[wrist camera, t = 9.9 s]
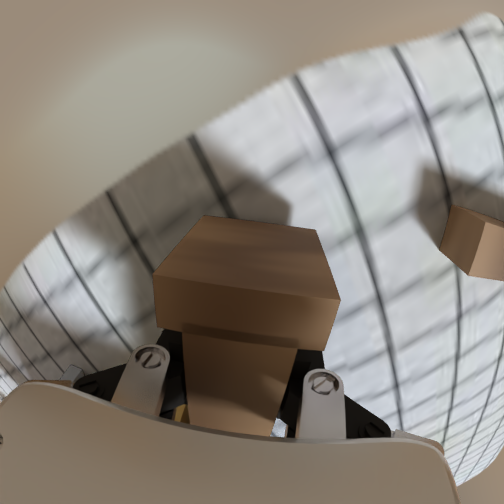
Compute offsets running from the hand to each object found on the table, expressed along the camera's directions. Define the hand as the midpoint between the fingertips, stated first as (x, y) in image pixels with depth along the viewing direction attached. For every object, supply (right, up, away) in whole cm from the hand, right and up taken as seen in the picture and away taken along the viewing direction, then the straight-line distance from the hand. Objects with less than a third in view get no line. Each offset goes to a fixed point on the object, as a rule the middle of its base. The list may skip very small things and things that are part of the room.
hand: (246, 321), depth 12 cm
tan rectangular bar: (+13, +4, -1) cm, 14 cm away
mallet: (-4, -4, +3) cm, 7 cm away
